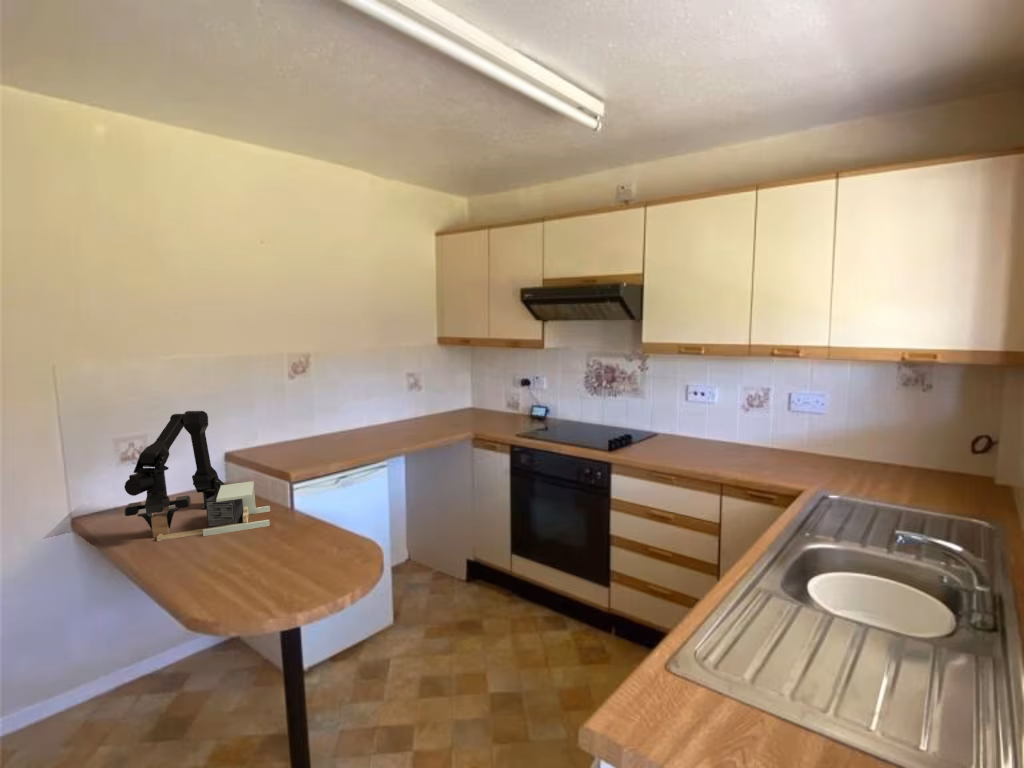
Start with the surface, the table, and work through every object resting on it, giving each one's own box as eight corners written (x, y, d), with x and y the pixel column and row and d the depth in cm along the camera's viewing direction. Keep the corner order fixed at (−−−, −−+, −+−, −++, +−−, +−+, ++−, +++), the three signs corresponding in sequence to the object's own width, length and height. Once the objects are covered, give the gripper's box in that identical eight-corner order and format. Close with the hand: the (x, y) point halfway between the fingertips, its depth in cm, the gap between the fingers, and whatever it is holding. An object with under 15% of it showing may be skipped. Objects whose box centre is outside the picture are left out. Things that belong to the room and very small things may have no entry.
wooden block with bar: (157, 530, 196) (155, 511, 195) (248, 516, 207) (246, 498, 206) (151, 542, 185) (148, 522, 184) (247, 526, 197) (245, 508, 196)
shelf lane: (209, 519, 205) (205, 487, 203) (270, 510, 213) (267, 479, 211) (203, 536, 189) (199, 501, 188) (269, 525, 197) (266, 492, 196)
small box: (245, 521, 202) (243, 493, 201) (236, 527, 196) (233, 499, 195) (217, 521, 203) (214, 493, 201) (207, 528, 196) (204, 500, 195)
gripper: (117, 497, 178) (123, 542, 180) (183, 488, 186) (188, 532, 188) (126, 487, 188) (131, 530, 190) (188, 479, 196) (193, 521, 198)
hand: (161, 528), depth 191 cm, fingers open, 4 cm apart
